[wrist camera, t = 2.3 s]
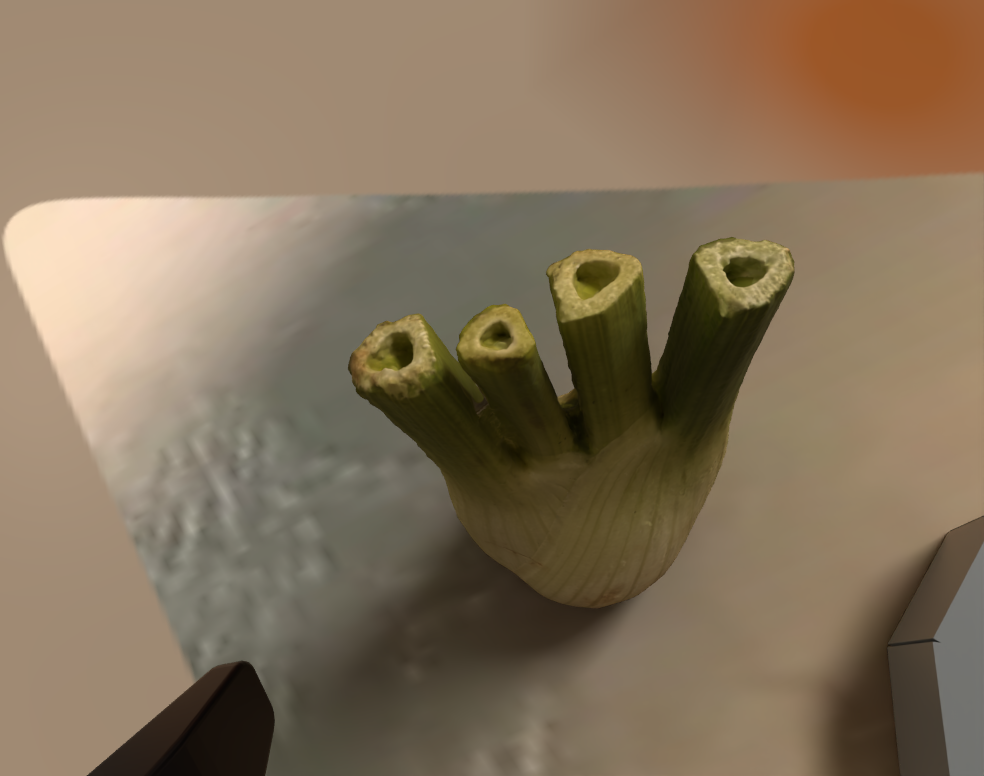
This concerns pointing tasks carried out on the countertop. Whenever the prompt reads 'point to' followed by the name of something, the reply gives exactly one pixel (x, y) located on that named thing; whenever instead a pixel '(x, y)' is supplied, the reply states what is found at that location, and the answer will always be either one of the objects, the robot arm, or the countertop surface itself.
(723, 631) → the countertop surface
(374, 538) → the countertop surface
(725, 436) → the fennel bulb
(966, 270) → the countertop surface
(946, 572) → the slate dish
